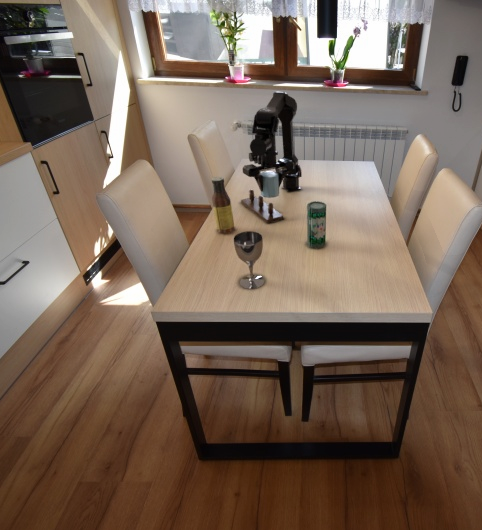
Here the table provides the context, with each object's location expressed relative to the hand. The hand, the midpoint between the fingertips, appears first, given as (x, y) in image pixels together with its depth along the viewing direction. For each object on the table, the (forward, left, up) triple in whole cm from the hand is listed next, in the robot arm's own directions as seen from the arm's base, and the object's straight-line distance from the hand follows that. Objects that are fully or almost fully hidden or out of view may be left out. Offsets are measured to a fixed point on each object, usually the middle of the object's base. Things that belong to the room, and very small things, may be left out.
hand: (270, 189), depth 148 cm
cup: (0, 0, -2) cm, 2 cm away
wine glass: (+27, +36, -12) cm, 46 cm away
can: (-2, +28, -12) cm, 30 cm away
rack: (+1, -7, -12) cm, 13 cm away
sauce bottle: (+20, +1, -12) cm, 23 cm away
